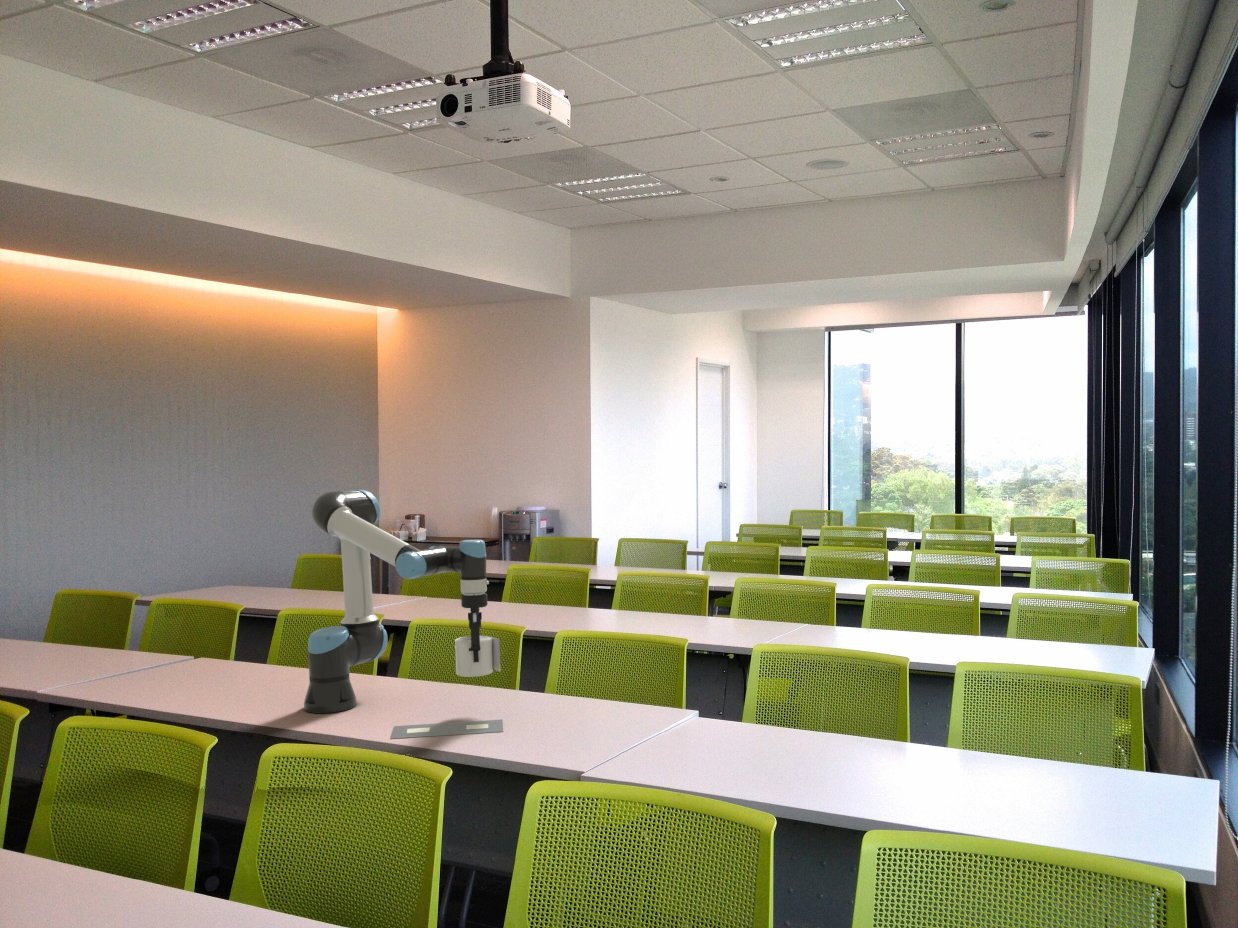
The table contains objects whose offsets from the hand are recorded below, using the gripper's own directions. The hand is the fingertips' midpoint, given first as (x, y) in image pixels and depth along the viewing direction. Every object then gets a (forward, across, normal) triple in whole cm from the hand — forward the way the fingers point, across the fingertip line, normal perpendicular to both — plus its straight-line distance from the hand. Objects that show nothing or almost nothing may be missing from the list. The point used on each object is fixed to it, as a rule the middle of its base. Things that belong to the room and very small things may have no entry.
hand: (476, 668), depth 291 cm
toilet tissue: (+1, 0, 0) cm, 1 cm away
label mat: (+13, -16, +8) cm, 22 cm away
